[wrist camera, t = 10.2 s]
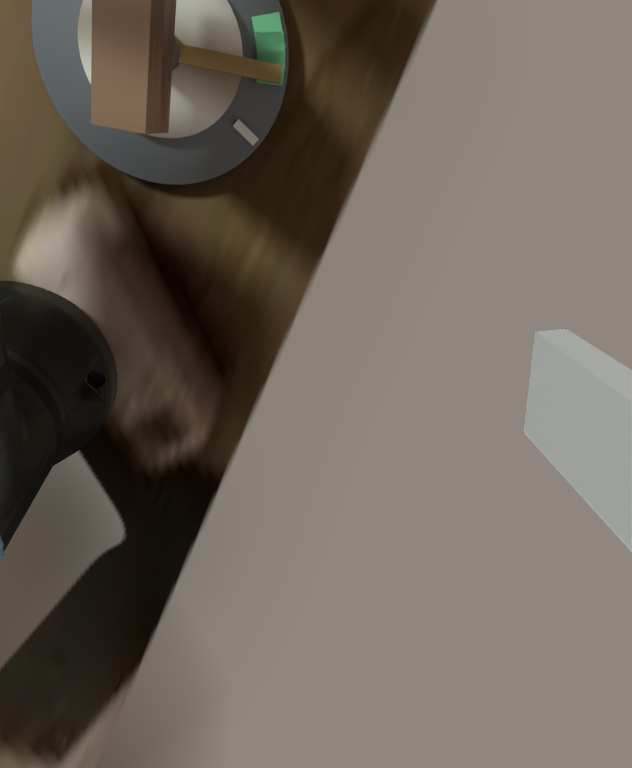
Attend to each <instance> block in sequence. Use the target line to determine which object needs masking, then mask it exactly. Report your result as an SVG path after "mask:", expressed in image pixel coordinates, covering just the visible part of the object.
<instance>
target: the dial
mask: <svg viewBox="0 0 632 768" xmlns="http://www.w3.org/2000/svg"><path fill="white" fill-rule="evenodd" d="M78 46H79V52H80V57H81V61H82V64H83V68H84V71H85V73H86V75H87V78H88V80H89V82H90V84H91V124H94V125H100V126H105V127H110V128H116V129H121V130H127V131H132V132H138V133H143V134H147V135H151V136H155V137H161V138H181V137H187V136H191V135H194V134H197V133H199V132H201V131H203V130H205V129H207V128H208V127H210V126H211V125H213V124H214V123H215V122H216V121H217V120H219V119H220V118H221V117H222V116H223V114H224V113H225V112H226V111H227V109H228V108H229V106H230V105H231V103H232V101H233V99H234V97H235V95H236V93H237V90H238V87H239V83H240V80H241V76H243V77H247V78H252V79H257V80H262V81H267V82H271V83H276V84H280V83H281V75H282V68H283V66H282V65H278V64H273V63H268V62H264V61H259V60H254V59H250V58H245V57H243V50H242V41H241V35H240V30H239V27H238V24H237V20H236V18H235V15H234V13H233V11H232V8H231V6H230V4H229V3H228V1H227V0H83V2H82V5H81V9H80V14H79V19H78Z"/></svg>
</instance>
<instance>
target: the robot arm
mask: <svg viewBox="0 0 632 768" xmlns="http://www.w3.org/2000/svg"><path fill="white" fill-rule="evenodd" d="M116 389H117V373H116V366H115V362H114V358H113V355H112V353H111V350H110V348H109V346H108V344H107V342H106V340H105V338H104V337H103V335H102V334H101V332H100V331H99V329H98V328H97V327H96V326H95V324H94V323H93V322H92V321H91V320H90V319H89V318H88V317H87V316H86V315H85V314H84V313H83V312H82V311H81V310H79V309H78V308H77V307H76V306H74V305H73V304H71V303H70V302H68V301H67V300H65V299H63V298H62V297H60V296H58V295H56V294H54V293H52V292H50V291H47V290H45V289H42V288H40V287H36V286H33V285H29V284H25V283H20V282H13V281H0V563H1V561H2V560H3V559H2V557H3V555H4V551H5V549H6V547H7V545H8V544H9V542H10V540H11V538H12V537H13V535H14V533H15V531H16V530H17V528H18V526H19V524H20V523H21V521H22V519H23V517H24V516H25V514H26V512H27V510H28V509H29V507H30V505H31V503H32V502H33V500H34V498H35V497H36V495H37V493H38V491H39V490H40V488H41V486H42V484H43V483H44V481H45V479H46V477H47V475H48V474H49V472H50V470H51V468H52V467H53V466H54V465H55V464H57V463H59V462H60V461H62V460H64V459H65V458H67V457H69V456H70V455H72V454H73V453H75V452H77V451H78V450H80V449H81V448H82V447H84V446H85V445H86V444H87V443H88V442H90V440H91V439H92V438H93V437H94V436H95V435H96V434H97V433H98V431H99V430H100V429H101V427H102V426H103V424H104V422H105V420H106V418H107V416H108V414H109V412H110V410H111V408H112V405H113V402H114V399H115V395H116ZM527 400H528V401H527V408H526V417H525V426H524V433H525V434H526V435H527V437H528V438H529V439H530V440H531V441H532V442H533V443H534V444H535V445H536V447H537V448H538V449H539V450H540V451H541V452H542V453H543V454H544V456H545V457H546V458H547V459H548V460H549V461H550V462H551V463H552V464H553V465H554V467H555V468H556V469H557V470H558V471H559V472H560V473H561V474H562V475H563V476H564V477H565V479H566V480H567V481H568V482H569V483H570V484H571V485H572V487H573V488H574V489H575V490H576V491H577V492H578V493H579V494H580V495H581V496H582V498H583V499H584V500H585V501H586V502H587V503H588V504H589V505H590V506H591V508H592V509H593V510H594V511H595V512H596V513H597V514H598V515H599V516H600V518H601V519H602V520H603V521H604V522H605V523H606V524H607V525H608V526H609V528H610V529H611V530H612V531H613V532H614V533H615V534H616V535H617V537H618V538H619V539H620V540H621V541H622V542H623V543H624V544H625V545H626V546H627V548H628V549H629V550H630V551H631V552H632V370H630V369H629V368H627V367H625V366H624V365H622V364H621V363H619V362H618V361H616V360H614V359H613V358H611V357H610V356H608V355H606V354H605V353H603V352H602V351H600V350H599V349H597V348H595V347H594V346H592V345H591V344H589V343H588V342H586V341H584V340H583V339H581V338H580V337H578V336H576V335H575V334H573V333H572V332H570V331H569V330H567V329H562V330H552V331H542V332H535V339H534V347H533V356H532V365H531V373H530V382H529V391H528V399H527Z"/></svg>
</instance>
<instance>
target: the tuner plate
mask: <svg viewBox="0 0 632 768" xmlns="http://www.w3.org/2000/svg"><path fill="white" fill-rule="evenodd" d="M227 1H228V3H229V4H230V6H231V8H232V11H233V13H234V15H235V18H236V20H237V24H238V27H239V30H240V35H241V41H242V50H243V57H245V58H250V59H254V60H259V61H264V62H268V63H273V64H278V65H282V66H283V68H282V75H281V83H280V84H276V83H271V82H267V81H262V80H257V79H252V78H247V77H243V76H241V80H240V83H239V87H238V90H237V93H236V95H235V97H234V99H233V101H232V103H231V105H230V106H229V108H228V109H227V111H226V112H225V113H224V114H223V116H222V117H221V118H220V119H219V120H217V121H216V122H215V123H214V124H213V125H211V126H210V127H208V128H207V129H205V130H203V131H201V132H199V133H197V134H194V135H191V136H187V137H181V138H161V137H155V136H151V135H147V134H143V133H138V132H132V131H127V130H121V129H116V128H110V127H105V126H100V125H94V124H91V84H90V82H89V80H88V78H87V75H86V73H85V71H84V68H83V64H82V61H81V57H80V52H79V46H78V19H79V14H80V9H81V5H82V2H83V0H33V3H32V15H31V19H32V38H33V45H34V51H35V57H36V60H37V64H38V68H39V71H40V75H41V77H42V80H43V82H44V85H45V87H46V90H47V92H48V94H49V96H50V98H51V100H52V102H53V104H54V106H55V108H56V110H57V111H58V112H59V114H60V115H61V117H62V118H63V120H64V121H65V123H66V124H67V126H68V127H69V128H70V129H71V130H72V132H73V133H74V134H75V135H76V136H77V138H78V139H79V140H80V141H81V142H82V143H83V144H84V145H86V146H87V147H88V148H89V149H90V150H91V151H92V152H93V153H94V154H96V155H97V156H98V157H100V158H101V159H102V160H104V161H105V162H107V163H108V164H110V165H112V166H113V167H115V168H117V169H118V170H120V171H122V172H125V173H127V174H129V175H131V176H134V177H136V178H140V179H143V180H146V181H150V182H155V183H161V184H175V185H183V184H192V183H198V182H202V181H206V180H210V179H213V178H215V177H217V176H220V175H222V174H225V173H226V172H228V171H230V170H231V169H233V168H235V167H236V166H238V165H239V164H240V163H242V162H243V161H244V160H245V159H247V158H248V157H249V156H250V155H251V154H252V153H253V152H254V151H255V150H256V149H257V147H258V146H259V145H260V144H261V142H262V141H263V140H264V138H265V137H266V136H267V134H268V133H269V131H270V129H271V127H272V125H273V123H274V122H275V120H276V118H277V115H278V112H279V110H280V107H281V105H282V101H283V97H284V93H285V89H286V85H287V77H288V69H289V47H288V37H287V29H286V25H285V20H284V15H283V11H282V8H281V5H280V2H279V0H227Z"/></svg>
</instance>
